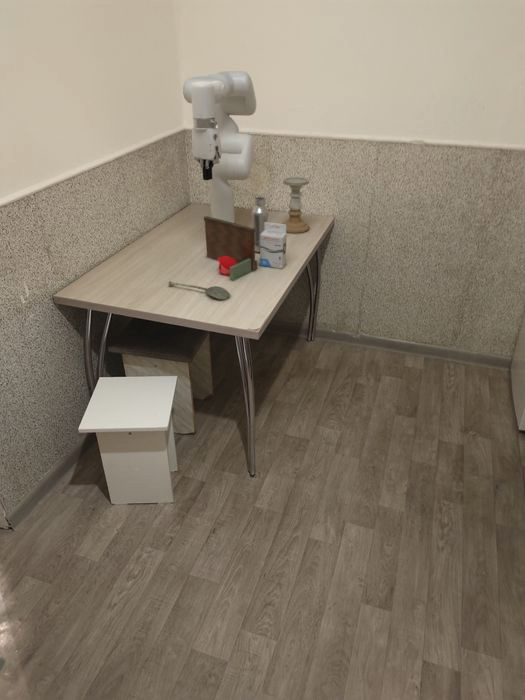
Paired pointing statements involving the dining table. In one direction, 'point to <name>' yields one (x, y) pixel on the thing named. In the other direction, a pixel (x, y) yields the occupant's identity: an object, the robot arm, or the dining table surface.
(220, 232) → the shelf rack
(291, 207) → the candle holder
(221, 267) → the red rounded piece
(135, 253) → the dining table surface
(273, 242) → the ink box
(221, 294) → the soupspoon
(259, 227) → the silver metal bottle
